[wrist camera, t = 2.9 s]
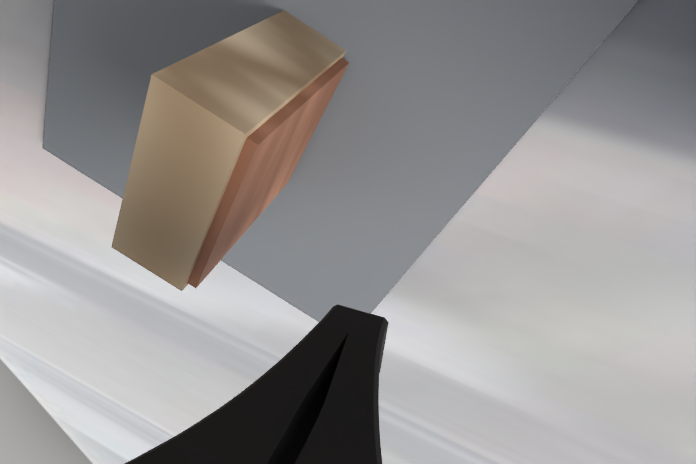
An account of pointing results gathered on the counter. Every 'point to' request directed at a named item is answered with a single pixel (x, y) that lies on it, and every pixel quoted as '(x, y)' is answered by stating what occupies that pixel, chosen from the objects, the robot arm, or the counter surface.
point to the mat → (337, 118)
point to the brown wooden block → (222, 144)
